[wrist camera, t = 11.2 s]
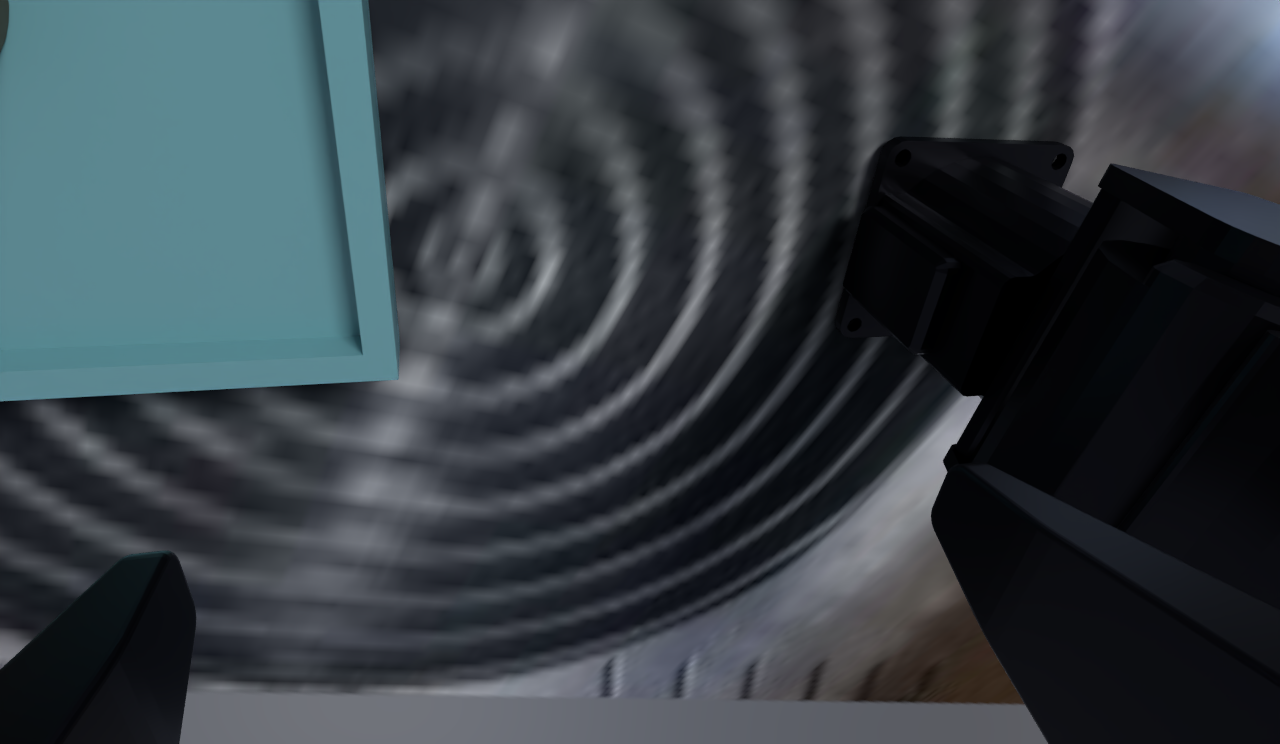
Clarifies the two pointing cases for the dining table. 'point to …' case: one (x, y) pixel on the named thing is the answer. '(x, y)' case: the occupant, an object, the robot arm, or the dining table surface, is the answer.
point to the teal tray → (191, 198)
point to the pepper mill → (3, 21)
